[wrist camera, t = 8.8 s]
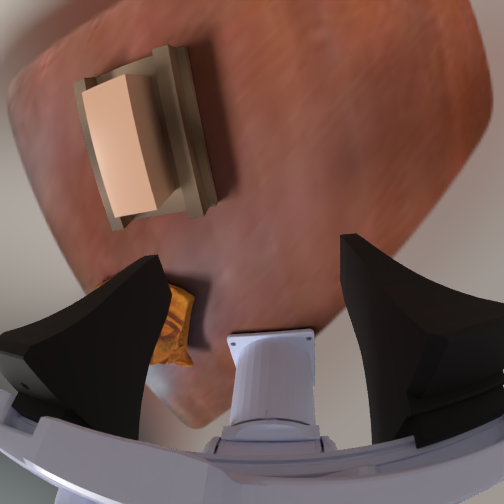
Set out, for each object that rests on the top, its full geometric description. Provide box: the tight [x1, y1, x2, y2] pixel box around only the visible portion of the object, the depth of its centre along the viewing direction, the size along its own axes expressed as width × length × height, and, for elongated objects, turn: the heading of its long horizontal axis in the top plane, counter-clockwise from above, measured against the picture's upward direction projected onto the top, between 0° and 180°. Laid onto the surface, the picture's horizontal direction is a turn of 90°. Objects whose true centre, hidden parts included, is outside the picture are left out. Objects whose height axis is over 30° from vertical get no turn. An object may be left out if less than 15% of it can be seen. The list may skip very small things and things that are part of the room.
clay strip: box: [82, 74, 176, 218], centre depth 15 cm, size 8×3×4 cm, turn 9°
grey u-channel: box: [73, 45, 218, 231], centre depth 17 cm, size 11×8×2 cm
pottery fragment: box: [97, 276, 195, 367], centre depth 25 cm, size 10×5×10 cm
